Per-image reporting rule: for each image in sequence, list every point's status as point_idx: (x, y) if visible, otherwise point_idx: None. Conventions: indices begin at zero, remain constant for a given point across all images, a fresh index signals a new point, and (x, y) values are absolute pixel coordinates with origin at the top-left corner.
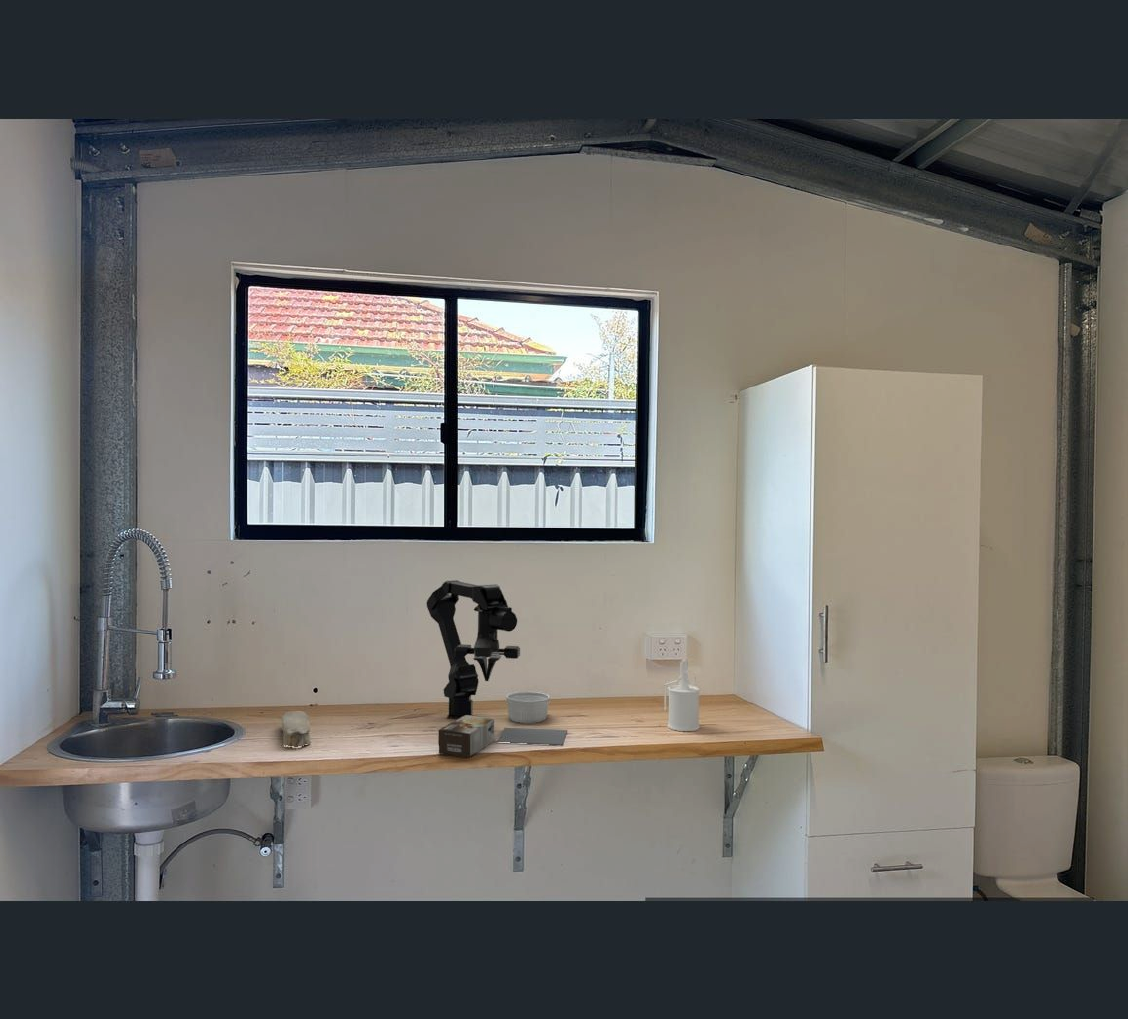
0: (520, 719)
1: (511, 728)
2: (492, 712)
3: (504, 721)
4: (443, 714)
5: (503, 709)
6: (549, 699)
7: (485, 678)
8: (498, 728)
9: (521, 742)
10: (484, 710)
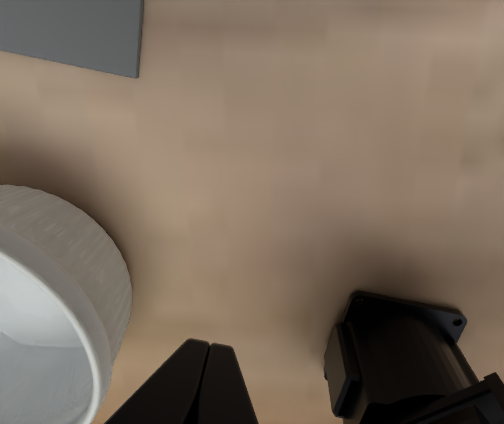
0: (50, 195)
1: (91, 50)
2: None
3: (154, 235)
4: None
5: None
6: None
7: (225, 368)
8: (178, 92)
9: None
10: (261, 414)
